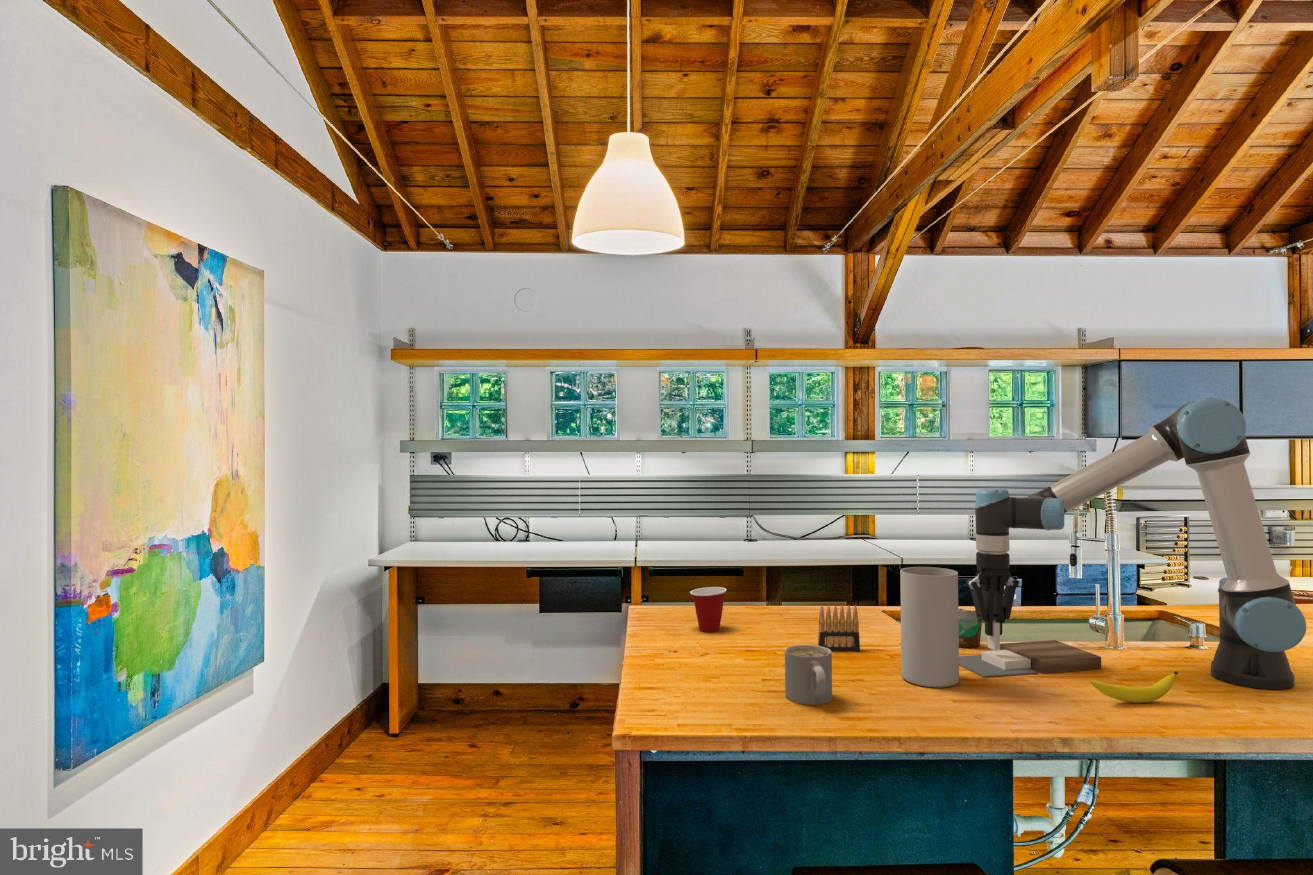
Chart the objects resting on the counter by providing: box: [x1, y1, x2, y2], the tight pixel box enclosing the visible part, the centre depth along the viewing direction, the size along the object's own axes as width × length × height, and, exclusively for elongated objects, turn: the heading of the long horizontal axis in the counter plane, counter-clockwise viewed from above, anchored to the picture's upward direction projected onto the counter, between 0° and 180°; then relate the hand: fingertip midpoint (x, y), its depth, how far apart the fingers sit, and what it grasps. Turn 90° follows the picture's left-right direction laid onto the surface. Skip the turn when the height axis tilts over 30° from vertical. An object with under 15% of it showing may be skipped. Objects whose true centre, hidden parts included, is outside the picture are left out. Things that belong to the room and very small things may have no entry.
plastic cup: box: [689, 586, 727, 633], centre depth 227 cm, size 11×11×12 cm
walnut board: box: [1000, 639, 1102, 675], centre depth 191 cm, size 16×16×3 cm
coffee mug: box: [784, 644, 833, 706], centre depth 165 cm, size 13×10×10 cm
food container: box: [958, 608, 983, 650], centre depth 206 cm, size 12×6×10 cm, turn 62°
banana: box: [1089, 671, 1179, 704], centre depth 161 cm, size 3×19×6 cm, turn 93°
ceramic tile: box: [981, 650, 1031, 670], centre depth 189 cm, size 9×7×2 cm
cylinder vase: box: [899, 566, 960, 689], centre depth 178 cm, size 12×12×25 cm
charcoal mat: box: [959, 654, 1039, 679], centre depth 188 cm, size 16×14×1 cm
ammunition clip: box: [817, 604, 861, 653], centre depth 203 cm, size 11×2×12 cm, turn 88°
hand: (993, 648), depth 188 cm, fingers closed
